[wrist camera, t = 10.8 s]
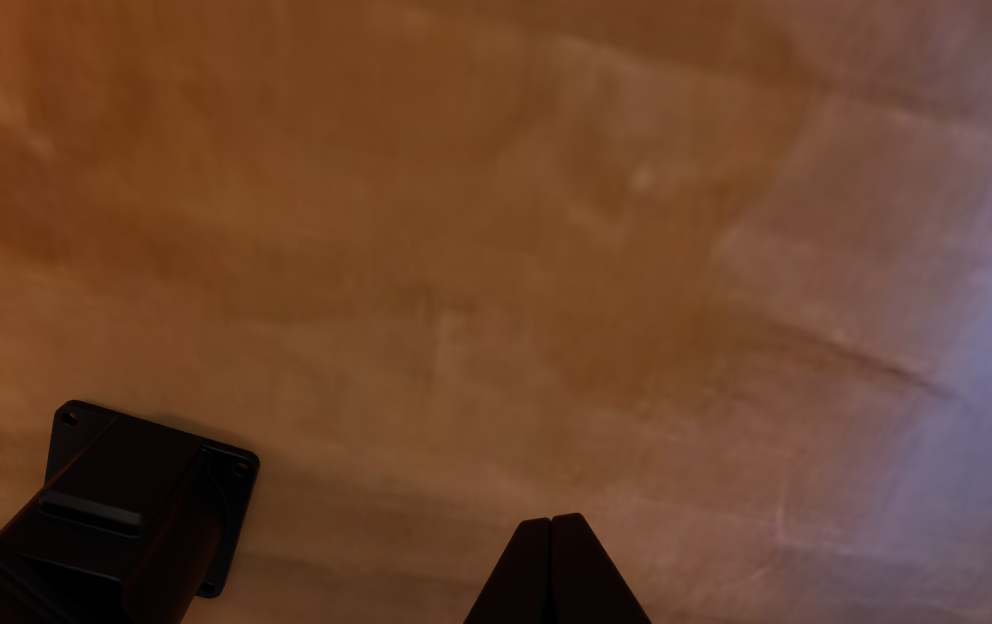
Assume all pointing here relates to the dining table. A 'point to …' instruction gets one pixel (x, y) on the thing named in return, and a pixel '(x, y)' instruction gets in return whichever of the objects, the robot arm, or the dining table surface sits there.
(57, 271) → the dining table surface
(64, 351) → the dining table surface
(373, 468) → the dining table surface
